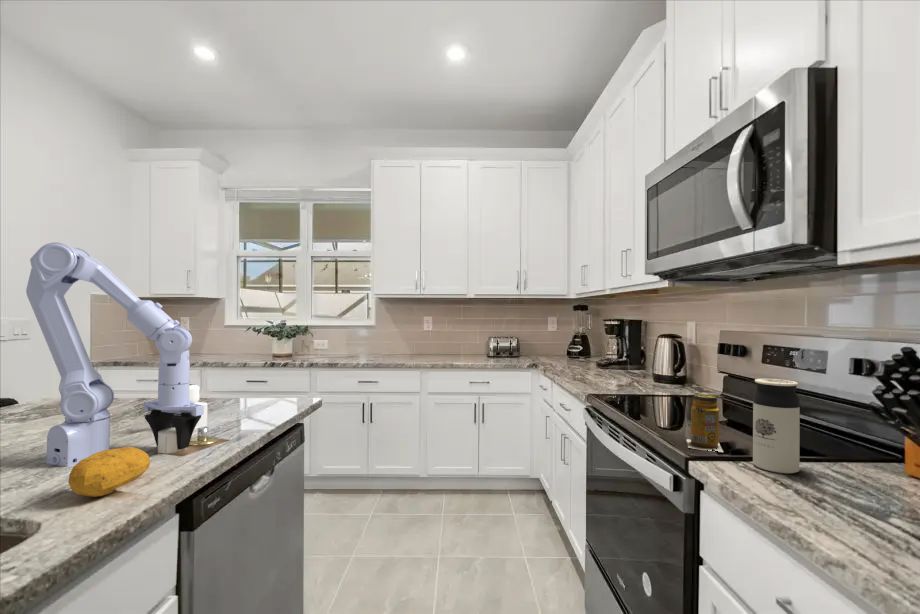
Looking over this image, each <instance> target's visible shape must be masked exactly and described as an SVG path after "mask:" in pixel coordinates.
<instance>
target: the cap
mask: <svg viewBox="0 0 920 614" xmlns="http://www.w3.org/2000/svg"><path fill="white" fill-rule="evenodd" d="M157 449H158V453H157V454H160V453H164V454H163V455H167V453H176V452H180V451H183V450H186V449H187V448H184V449H181V450H180V449H178V447H177V435H176V429H175V428H168V429H163V430H160V431H158V447H157ZM165 453H166V454H165Z"/></svg>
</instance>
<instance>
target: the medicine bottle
mask: <svg viewBox="0 0 920 614" xmlns="http://www.w3.org/2000/svg"><path fill="white" fill-rule="evenodd" d="M200 388H201V387H200V386H199V385H198V384H191V383H189V401H192V403H194V404H198V405H204V414H203V415H201V418H200V420H199V421H198V423H197V425H196V426H195V429H194V430H196V429H197V430H198V428H199V427H208V406H209V405H208V402H205V401H203V402H202V401H200ZM175 416H181V414H178V413H174V415H173V417H175ZM170 428H175V425H174V423H173V420H171V424H170Z"/></svg>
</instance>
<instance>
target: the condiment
mask: <svg viewBox="0 0 920 614" xmlns="http://www.w3.org/2000/svg"><path fill="white" fill-rule="evenodd" d="M719 428H720V409H719V408H718V398H717V396H715V395H709V394H699V393H698V394H694V395H693V396H692V405H691V408H690V438H689V439H686V444H687V448H688V449H689V448H690V449H693V450H694V449H695V450H701V451H707V450H708V452H713V451H712V449H713V448H717V449H714V450H715V451H718V453H724V450H723V448H722V446H721V444H720V440H719V438H720V433H719V431H720V429H719ZM715 451H714V452H715Z"/></svg>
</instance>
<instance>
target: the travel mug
mask: <svg viewBox="0 0 920 614" xmlns="http://www.w3.org/2000/svg"><path fill="white" fill-rule="evenodd" d="M754 382H755V384H756V390H755V392H754V393H753V396H752V397H753V398H752V409H753V410H752V413H753V414H752V463H753V465H754V466H755V467H757V468H759V469H761V470H764V471H767V472H771V473H776V474H783V475H784V474H785V475H788V474H795V473H798V472H800V444H801V443H800V436H801V435H800V421H801V420H800V417H801V416H800V413H801V412H800V410H801V409H800V407H801V405H800V404H801V403H800V402H801V401H800V398H799V395H798V394H797V392H796V391H797V387H798V386H799V382H797V381H793V380H787V379H779V378H755V379H754Z"/></svg>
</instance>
